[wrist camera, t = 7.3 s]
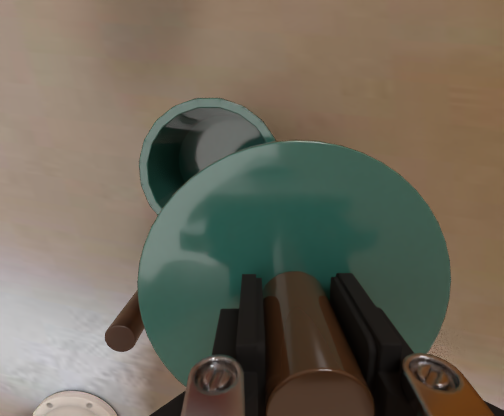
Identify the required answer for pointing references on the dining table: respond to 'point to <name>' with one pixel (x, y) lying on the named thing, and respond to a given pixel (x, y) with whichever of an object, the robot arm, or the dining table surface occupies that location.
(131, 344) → the peg on round base
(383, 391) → the robot arm
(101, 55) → the dining table surface
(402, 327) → the jar lid
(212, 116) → the jar
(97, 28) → the dining table surface
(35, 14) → the dining table surface
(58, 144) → the dining table surface
